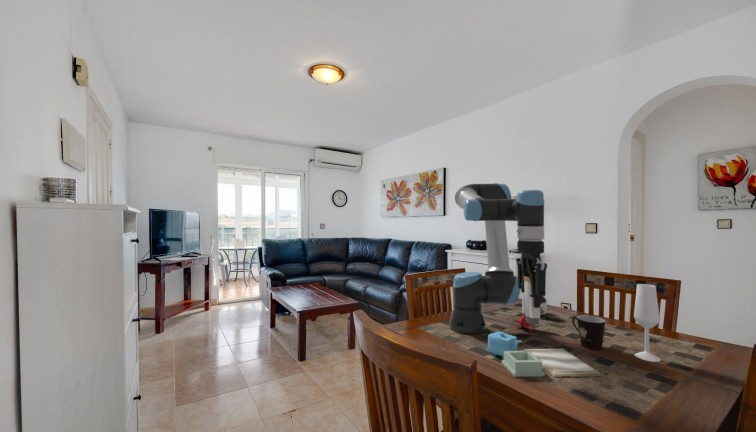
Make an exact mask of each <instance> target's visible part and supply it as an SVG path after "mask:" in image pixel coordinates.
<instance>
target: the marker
mask: <svg viewBox="0 0 756 432" xmlns="http://www.w3.org/2000/svg"><path fill="white" fill-rule="evenodd" d="M524 290H525V316H526V322H527V323H529V324H530V325H539V324H540V318H530V295H532V292H531V283H530V276H524Z"/></svg>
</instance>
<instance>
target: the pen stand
mask: <svg viewBox="0 0 756 432" xmlns="http://www.w3.org/2000/svg"><path fill="white" fill-rule="evenodd" d="M501 364H502V365H503V366H504V367H505V368H506V370H508V372H509V373H510V374H511V375H512V376H513V377H514V378H515V377H516V378H518V377H523V378H524V377H525V378H526V377H545V372H544V371H543V367H542V361H540V360H539V359H538V358H537V357H535V356H534V355H533V354H532V353H530V352H529V351H524V350H517V351H504V359H501Z"/></svg>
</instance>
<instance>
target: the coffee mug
mask: <svg viewBox="0 0 756 432" xmlns="http://www.w3.org/2000/svg"><path fill="white" fill-rule="evenodd" d="M575 319H576V321H577V326H576V324H575ZM571 322H572V325H573V327H574V328H575V329H576V331H577V332H578V336H579V340H580V341H579V342H580V346H581V347H583V348H584V349H588V350H592V351H601V350H603V349H602V348H603V343H604V341H603V340H604V334H605V328H606V327H605V326H606V320H605V319H604V318H601V317H598V316H593V315H577V316H576V317H575V316H574V317H572V320H571Z"/></svg>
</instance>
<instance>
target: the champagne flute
mask: <svg viewBox="0 0 756 432" xmlns="http://www.w3.org/2000/svg"><path fill="white" fill-rule="evenodd" d="M635 292H636V294H635V302H634V312H633V318H634V320H635V321H636V322H637V324H638V325H640V326H641V327H642V328H643V329H644V350H643V351H640V352H637V353H634V356H635V357H636V358H637V359H638V358H639V359H640V360H644V361H646V362H647V361H648V362H652V363H653V362H654V363H656V362H658V363H659V362H661V359H660V358H659V357H658V356H656V355H654V354H653V353H652V352H650V329H652V328H654V327H656V326H657V325H658V324H659V323H660V321H661V317H660V311H659V310H660V309H659V303H658V302H659V301H658V296H657V288H656V286H655V285H652V284H645V283H638V284H637V285H636V291H635Z"/></svg>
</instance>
